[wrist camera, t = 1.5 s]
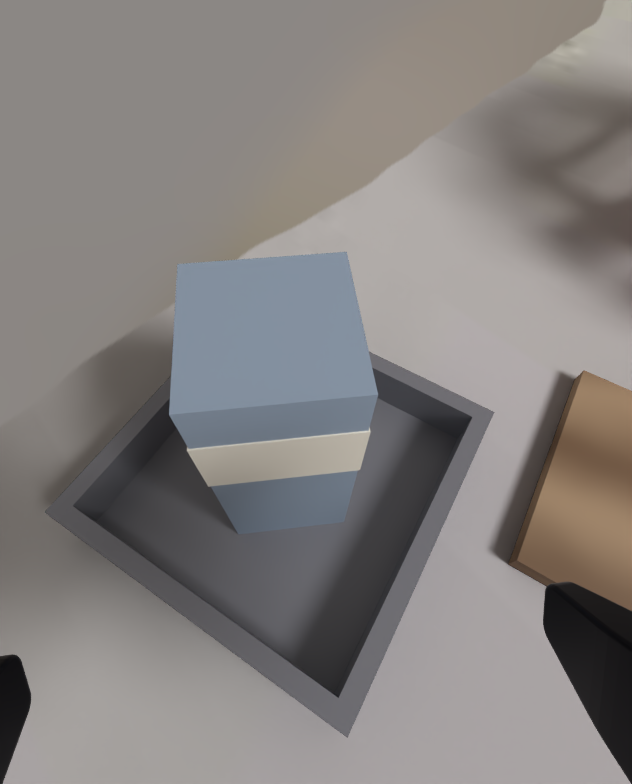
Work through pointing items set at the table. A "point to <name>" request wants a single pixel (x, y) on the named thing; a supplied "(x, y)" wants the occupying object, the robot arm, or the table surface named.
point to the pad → (584, 497)
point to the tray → (286, 540)
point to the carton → (273, 386)
